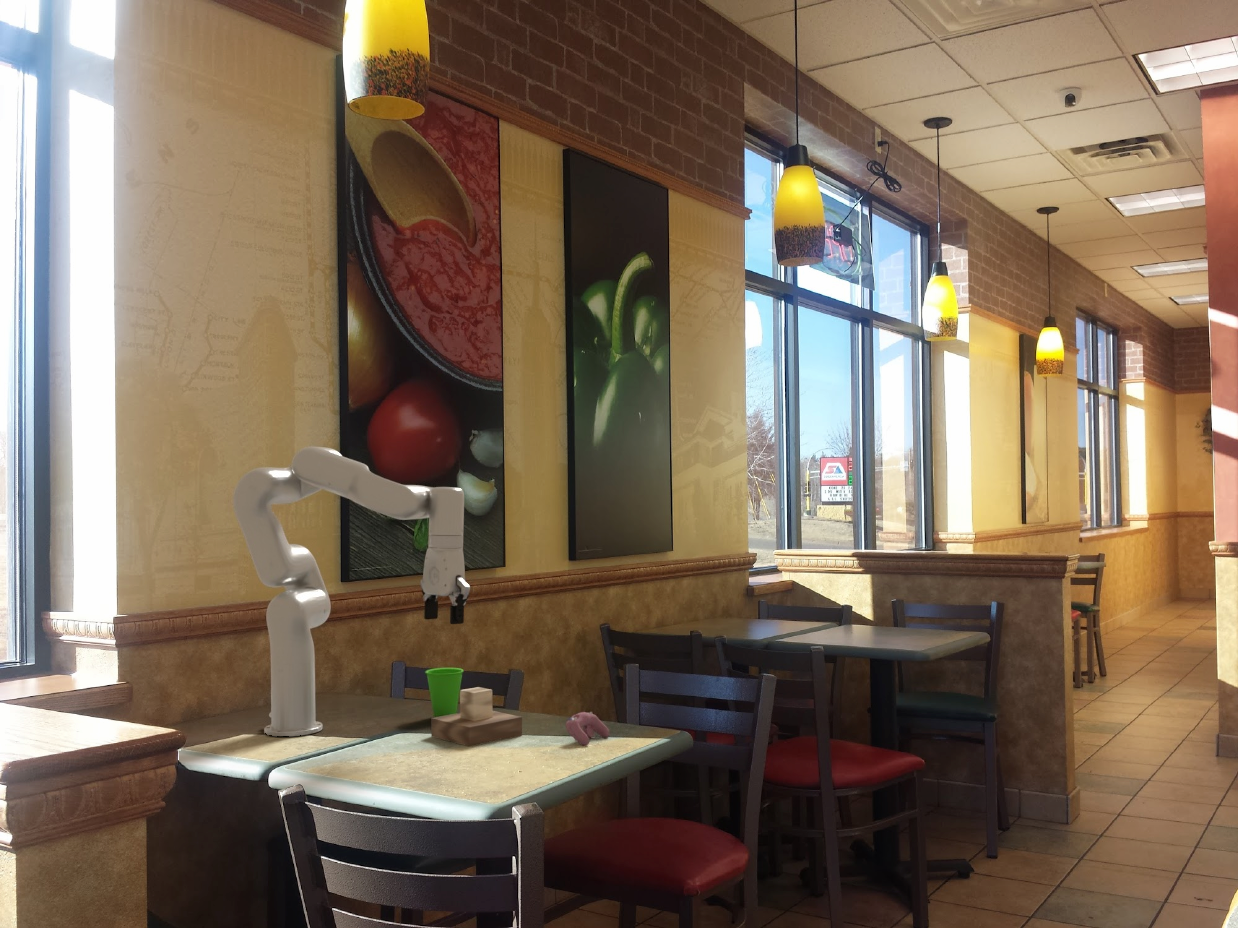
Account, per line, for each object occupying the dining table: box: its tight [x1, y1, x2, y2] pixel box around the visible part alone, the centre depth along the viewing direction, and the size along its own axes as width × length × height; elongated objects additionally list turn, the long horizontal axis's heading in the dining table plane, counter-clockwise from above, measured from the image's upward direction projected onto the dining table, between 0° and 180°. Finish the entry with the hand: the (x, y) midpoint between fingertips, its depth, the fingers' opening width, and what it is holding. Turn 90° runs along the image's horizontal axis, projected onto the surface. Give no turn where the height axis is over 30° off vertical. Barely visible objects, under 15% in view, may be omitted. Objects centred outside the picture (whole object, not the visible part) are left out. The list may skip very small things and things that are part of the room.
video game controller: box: [565, 711, 610, 746], centre depth 235 cm, size 10×5×7 cm, turn 150°
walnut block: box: [430, 710, 523, 748], centre depth 240 cm, size 14×14×4 cm
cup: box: [424, 667, 464, 718], centre depth 261 cm, size 9×9×11 cm
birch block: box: [459, 686, 494, 721], centre depth 241 cm, size 5×5×6 cm
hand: (443, 621), depth 242 cm, fingers open, 9 cm apart
